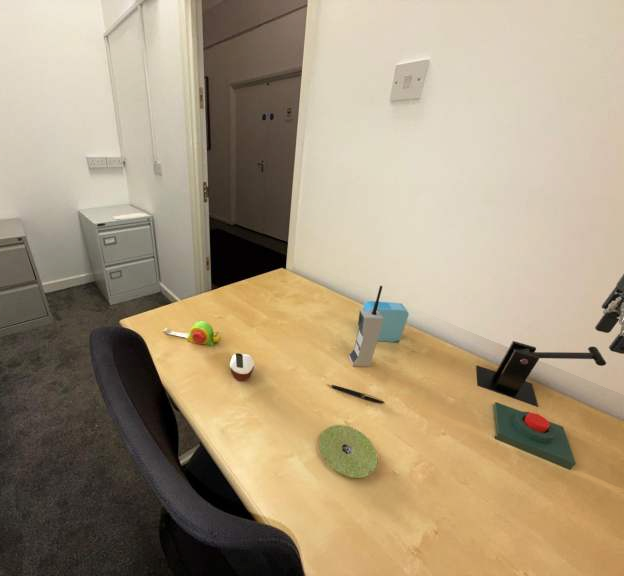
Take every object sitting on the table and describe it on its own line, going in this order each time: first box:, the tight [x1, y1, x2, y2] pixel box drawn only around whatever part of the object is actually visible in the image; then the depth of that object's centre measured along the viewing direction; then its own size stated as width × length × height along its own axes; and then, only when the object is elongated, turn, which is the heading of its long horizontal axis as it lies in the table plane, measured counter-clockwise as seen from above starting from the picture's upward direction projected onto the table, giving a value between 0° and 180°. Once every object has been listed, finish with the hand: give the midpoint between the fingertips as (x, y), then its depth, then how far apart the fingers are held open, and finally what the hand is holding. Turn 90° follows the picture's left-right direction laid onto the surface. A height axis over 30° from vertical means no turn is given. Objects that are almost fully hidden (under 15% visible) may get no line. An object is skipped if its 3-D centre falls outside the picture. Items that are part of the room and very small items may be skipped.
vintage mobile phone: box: [348, 285, 384, 368], centre depth 80 cm, size 4×5×25 cm
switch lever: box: [514, 346, 607, 367], centre depth 69 cm, size 14×6×2 cm, turn 56°
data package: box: [357, 300, 410, 343], centre depth 94 cm, size 12×4×12 cm, turn 84°
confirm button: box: [524, 412, 550, 433], centre depth 64 cm, size 4×4×2 cm
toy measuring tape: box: [162, 320, 221, 346], centre depth 93 cm, size 6×19×7 cm, turn 71°
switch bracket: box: [475, 340, 540, 408], centre depth 75 cm, size 12×9×13 cm
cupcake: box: [229, 352, 255, 381], centre depth 77 cm, size 10×6×12 cm, turn 147°
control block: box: [492, 401, 576, 471], centre depth 65 cm, size 12×10×4 cm
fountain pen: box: [326, 383, 386, 404], centre depth 75 cm, size 14×1×2 cm, turn 66°
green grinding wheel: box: [318, 424, 378, 479], centre depth 61 cm, size 11×11×2 cm
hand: (608, 340), depth 63 cm, fingers open, 8 cm apart
